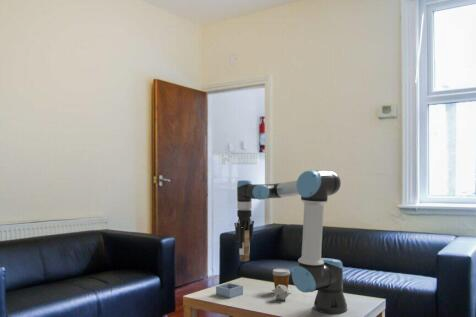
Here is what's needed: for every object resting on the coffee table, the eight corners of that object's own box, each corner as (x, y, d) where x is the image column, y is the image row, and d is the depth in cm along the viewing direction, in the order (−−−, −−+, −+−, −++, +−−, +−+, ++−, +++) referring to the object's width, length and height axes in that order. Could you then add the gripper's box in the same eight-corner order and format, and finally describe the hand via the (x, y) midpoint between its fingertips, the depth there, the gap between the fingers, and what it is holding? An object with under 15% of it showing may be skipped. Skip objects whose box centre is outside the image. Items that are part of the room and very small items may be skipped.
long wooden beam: (249, 260, 236) (249, 230, 237) (244, 261, 234) (244, 231, 234) (244, 259, 239) (244, 229, 239) (239, 260, 236) (239, 230, 236)
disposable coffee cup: (289, 295, 232) (289, 272, 232) (271, 294, 234) (271, 271, 234) (291, 291, 241) (290, 268, 242) (273, 290, 243) (273, 268, 244)
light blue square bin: (242, 294, 236) (242, 285, 236) (230, 298, 228) (230, 289, 228) (229, 291, 242) (228, 282, 242) (216, 295, 235) (215, 286, 235)
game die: (285, 307, 225) (296, 290, 225) (278, 305, 218) (290, 288, 218) (272, 295, 230) (283, 279, 230) (265, 293, 223) (277, 277, 224)
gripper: (249, 208, 245) (249, 251, 245) (228, 210, 233) (228, 255, 233) (259, 208, 240) (260, 252, 240) (239, 211, 228) (239, 257, 228)
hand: (244, 253), depth 236 cm, fingers closed on long wooden beam, 3 cm apart
